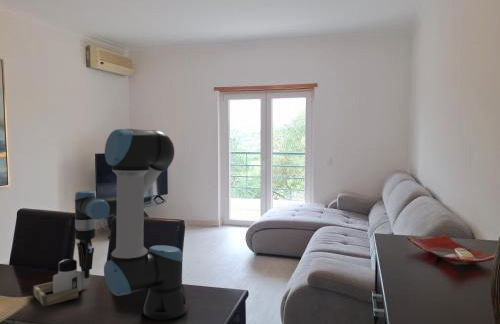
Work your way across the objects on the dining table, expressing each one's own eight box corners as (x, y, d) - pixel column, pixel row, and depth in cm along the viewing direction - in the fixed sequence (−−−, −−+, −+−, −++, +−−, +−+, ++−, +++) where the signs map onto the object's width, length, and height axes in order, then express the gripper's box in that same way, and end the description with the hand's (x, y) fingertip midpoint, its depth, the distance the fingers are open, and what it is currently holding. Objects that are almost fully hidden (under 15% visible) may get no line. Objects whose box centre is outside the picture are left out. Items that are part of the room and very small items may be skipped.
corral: (78, 297, 143) (78, 288, 143) (43, 306, 134) (43, 297, 134) (66, 287, 153) (66, 278, 153) (33, 294, 145) (33, 286, 145)
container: (82, 289, 150) (82, 258, 150) (69, 297, 143) (68, 264, 142) (66, 287, 152) (66, 256, 152) (52, 294, 145) (52, 262, 144)
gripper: (100, 230, 148) (100, 287, 149) (88, 224, 158) (89, 278, 159) (81, 232, 143) (81, 292, 144) (70, 227, 153) (70, 282, 154)
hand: (85, 285), depth 152 cm, fingers closed
